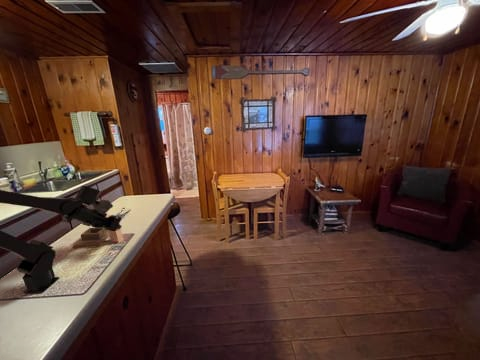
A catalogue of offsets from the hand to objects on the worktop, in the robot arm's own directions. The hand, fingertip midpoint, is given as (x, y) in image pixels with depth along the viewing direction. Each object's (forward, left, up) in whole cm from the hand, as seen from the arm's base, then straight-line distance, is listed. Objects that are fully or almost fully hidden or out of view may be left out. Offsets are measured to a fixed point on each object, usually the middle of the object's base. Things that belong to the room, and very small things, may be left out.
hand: (116, 226), depth 93 cm
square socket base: (+1, +12, -7) cm, 14 cm away
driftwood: (+27, +15, -7) cm, 32 cm away
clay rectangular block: (-1, 0, -7) cm, 7 cm away
